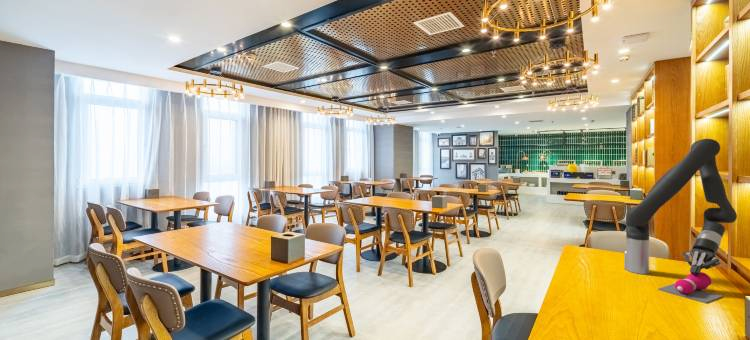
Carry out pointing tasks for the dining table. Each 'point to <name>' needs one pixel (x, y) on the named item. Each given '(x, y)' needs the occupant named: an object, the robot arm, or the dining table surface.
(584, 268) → the dining table surface
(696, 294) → the charcoal mat
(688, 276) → the pepper mill
